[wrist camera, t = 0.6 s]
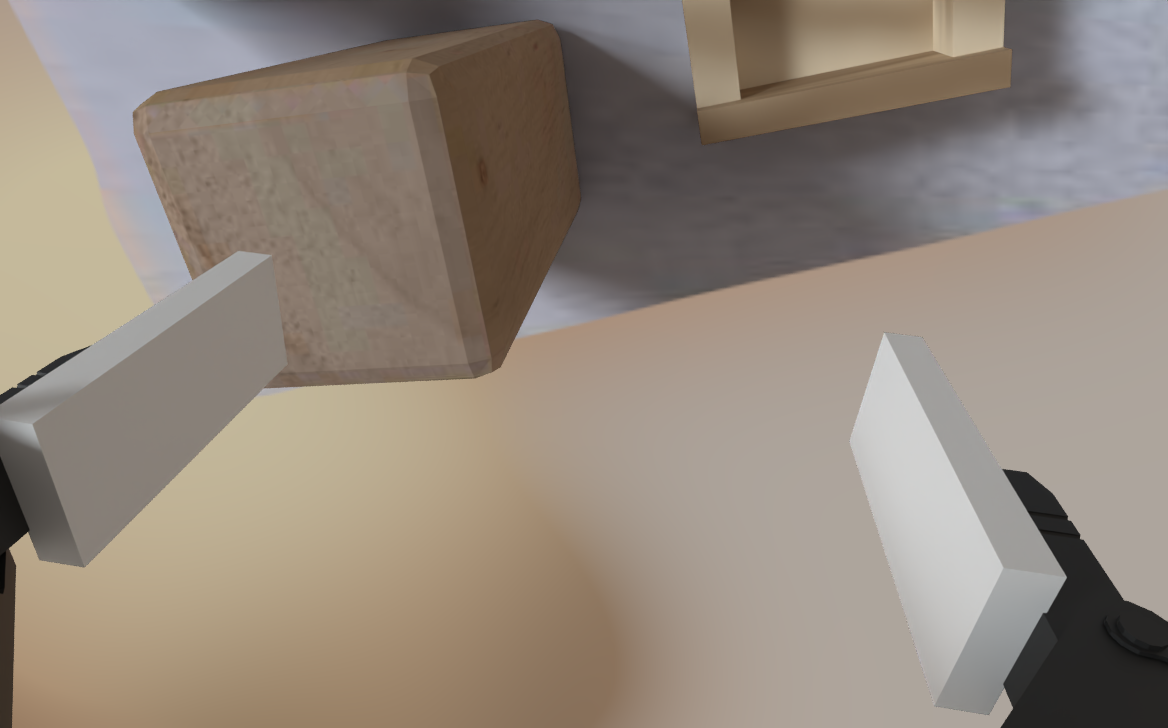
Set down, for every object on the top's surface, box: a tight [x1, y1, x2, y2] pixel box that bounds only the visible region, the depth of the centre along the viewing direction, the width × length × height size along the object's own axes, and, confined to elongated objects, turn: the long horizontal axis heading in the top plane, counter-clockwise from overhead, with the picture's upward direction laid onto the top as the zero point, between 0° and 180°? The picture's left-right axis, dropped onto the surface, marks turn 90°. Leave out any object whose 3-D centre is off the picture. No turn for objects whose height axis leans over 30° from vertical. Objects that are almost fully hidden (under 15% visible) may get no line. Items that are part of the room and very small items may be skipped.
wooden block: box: [133, 20, 581, 388], centre depth 31 cm, size 10×10×20 cm
